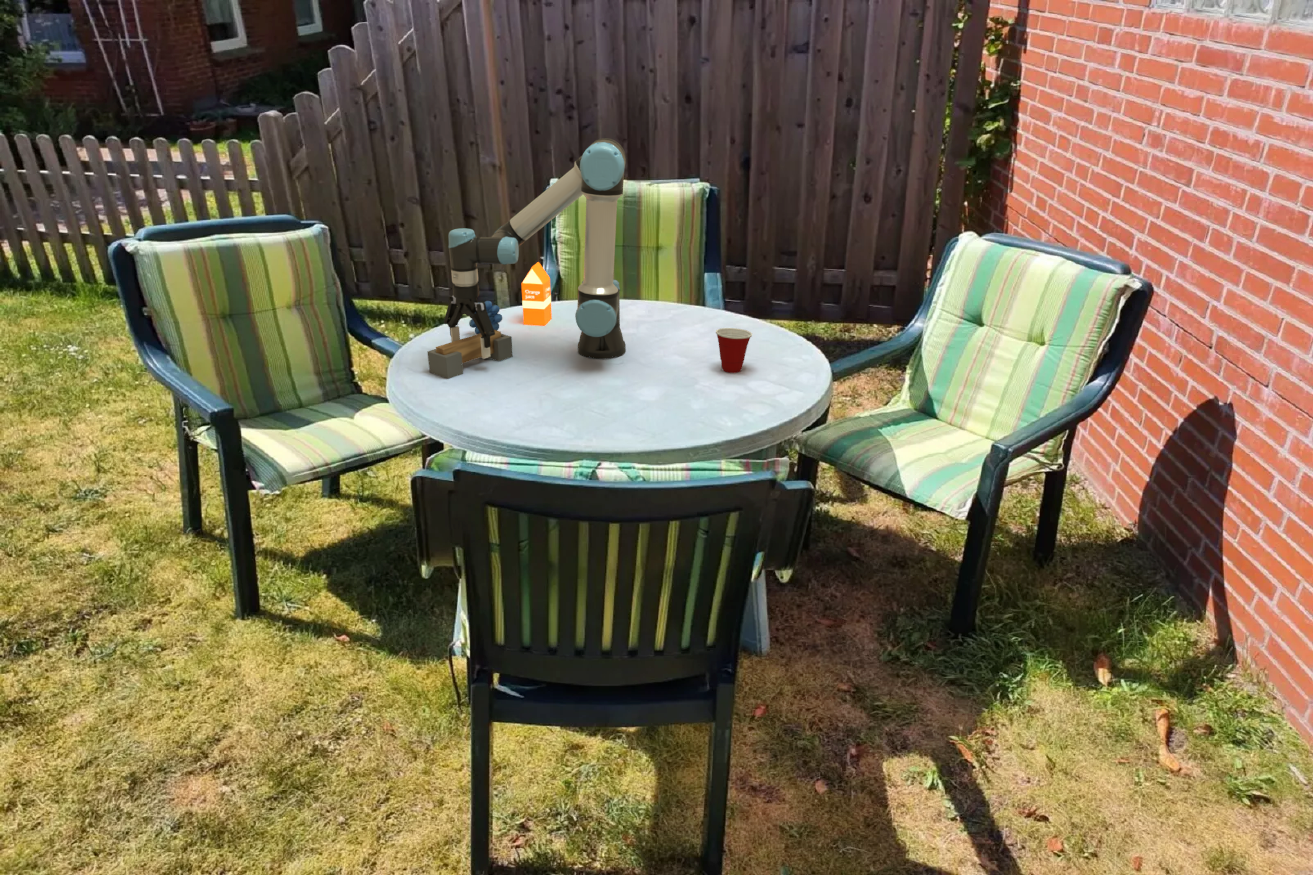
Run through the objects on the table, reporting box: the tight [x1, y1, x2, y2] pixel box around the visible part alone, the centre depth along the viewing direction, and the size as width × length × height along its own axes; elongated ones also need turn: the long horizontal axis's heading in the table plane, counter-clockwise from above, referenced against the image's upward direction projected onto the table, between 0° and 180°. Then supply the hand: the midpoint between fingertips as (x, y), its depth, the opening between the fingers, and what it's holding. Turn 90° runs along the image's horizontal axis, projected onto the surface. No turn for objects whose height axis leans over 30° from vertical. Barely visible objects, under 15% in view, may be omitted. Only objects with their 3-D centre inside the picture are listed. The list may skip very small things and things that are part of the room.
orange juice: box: [521, 261, 553, 327], centre depth 307 cm, size 8×9×20 cm
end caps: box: [427, 333, 514, 380], centre depth 270 cm, size 8×25×6 cm, turn 141°
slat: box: [435, 330, 502, 364], centre depth 269 cm, size 4×22×6 cm, turn 141°
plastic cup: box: [715, 327, 753, 374], centre depth 266 cm, size 11×11×12 cm
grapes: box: [468, 300, 503, 335], centre depth 295 cm, size 12×7×12 cm, turn 78°
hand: (471, 352), depth 270 cm, fingers open, 13 cm apart
